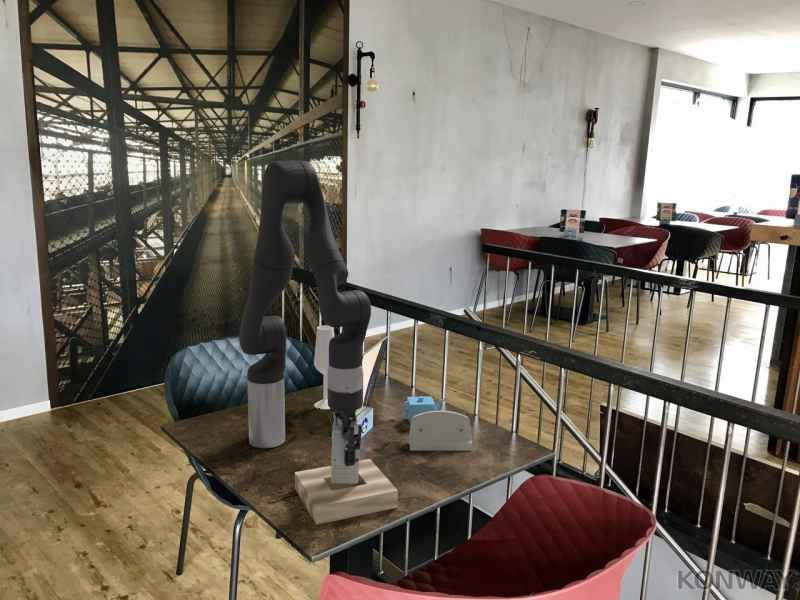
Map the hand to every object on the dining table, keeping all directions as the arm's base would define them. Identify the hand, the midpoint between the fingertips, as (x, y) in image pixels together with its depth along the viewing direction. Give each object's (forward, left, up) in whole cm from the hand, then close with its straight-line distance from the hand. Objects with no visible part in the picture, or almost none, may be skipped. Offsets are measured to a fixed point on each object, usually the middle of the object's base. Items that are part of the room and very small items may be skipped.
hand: (345, 458), depth 142 cm
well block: (0, 0, -9) cm, 9 cm away
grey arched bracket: (-17, +32, -10) cm, 38 cm away
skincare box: (0, 0, -5) cm, 5 cm away
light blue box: (-32, +35, -10) cm, 48 cm away
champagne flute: (-54, +13, -9) cm, 56 cm away
